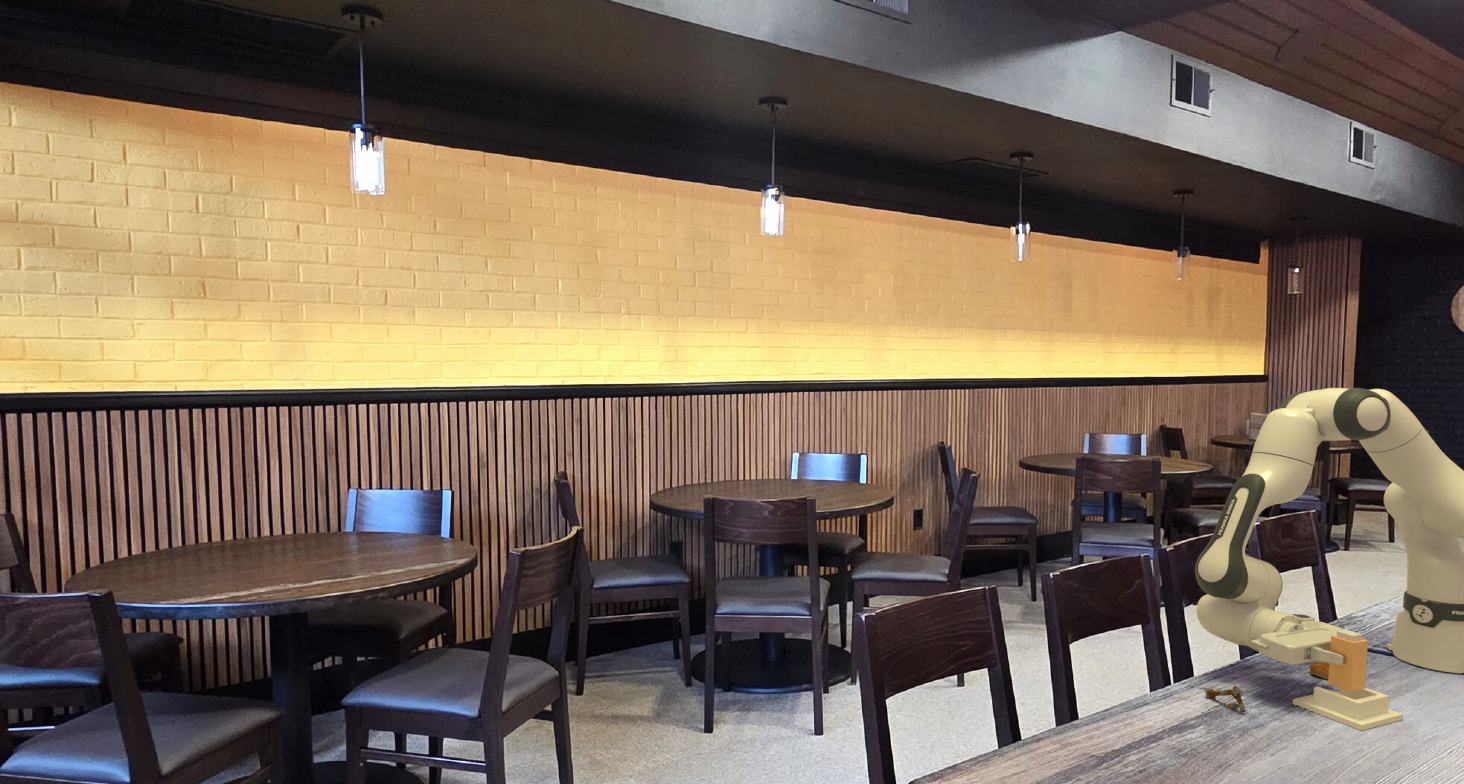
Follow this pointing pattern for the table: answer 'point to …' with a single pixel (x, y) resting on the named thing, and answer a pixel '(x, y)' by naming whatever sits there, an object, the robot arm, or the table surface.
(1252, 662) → the table surface
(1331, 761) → the table surface
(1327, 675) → the pastry
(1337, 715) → the holder
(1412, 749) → the table surface
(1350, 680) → the block
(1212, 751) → the table surface
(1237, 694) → the wooden post with brackets
